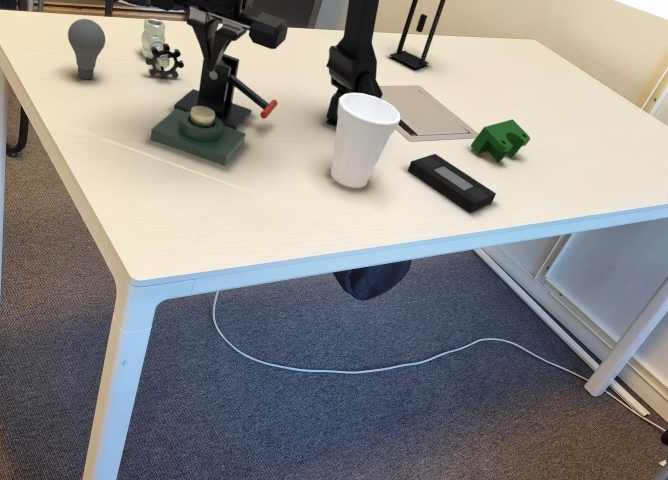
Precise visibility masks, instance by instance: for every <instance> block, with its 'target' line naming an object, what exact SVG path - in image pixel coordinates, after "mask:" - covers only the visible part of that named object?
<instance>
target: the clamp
mask: <svg viewBox="0 0 668 480" xmlns="http://www.w3.org/2000/svg"><path fill="white" fill-rule="evenodd" d="M530 141H531V137H530V135H529V134H528V133H527V132H526V131H525V130H524V129H523V128H522V127H521V126H520V125H519V124H518V123H517V122H516V121H515V120H514V119H513V118H512V119H508V120H505V121H501V122H497V123H494V124H490V125H486V126H483V128H482V129H481V130H480V132H479V133H478V134H477V136H476V137H475V138H474V140H473V141H472V142H471V145H470V147H471V149H472V150H473V151H474V152H475V153H476V154H477V155H481V154H484V153H488V154H489V155H490V156H491V157H492V158H493V159H494V160H495V161H496V162H497V163H498V164H500V163H501V162H502V160H503V159H504V158H505V157H506V156H508V157H509V158H510V159H513V158H514V157H515V156H516V154H517V153H518V152H519V151H520V150H521V148H522V147H525V146H527V144H528V143H529V142H530Z"/></svg>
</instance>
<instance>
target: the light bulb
mask: <svg viewBox="0 0 668 480" xmlns="http://www.w3.org/2000/svg"><path fill="white" fill-rule="evenodd" d="M67 39H68V42H69V44H70V47H71V49H72V50H73V52H74V55H75V59H76V60H75V61H76V65H77V75H78V77H79V78H81V79H82V80H91V79H93V78H94V71H95V68H96V64H97V59H98V57H99V54H100V53H101V52H102V51H103V49H104V47H105V45H106V35H105V32H104V29H103V27H101V26H100V25H99V24H98V23H97V22H95V21H93V19H92V20H91V19H88V18H80V19H76V20H75V21H74V22H72V24H70V26H69V28H68V30H67Z"/></svg>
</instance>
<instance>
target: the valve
mask: <svg viewBox="0 0 668 480" xmlns="http://www.w3.org/2000/svg"><path fill="white" fill-rule="evenodd" d="M165 34H166V24H165V23H164V21H162V20H159V19H156V18H146V19H144V20H143V31H142V34H141V39H140V41H141V45H142V46H141V54H142V56H143V57H144V62H145V64H146V65H147V66H152V68H149V69H148V73H149V75H150V76H151V77H155V76H157V74H158V75H159V79H160V80H167V79H168V76H171V77H172V78H174V79H176V78H177V79H178V77H179V73H178V71H177V69H178V68H179V69H183V68H184V66H185V63H184V61H183V60H181V59H179V60H178V58H180V57H181V55H182V53H181V51H180V50H179V49H178V48H175V49H174V50H173V51H171V47H170V45H169V44H168V43H167V42H166V37H165ZM170 59H173V65H172V67H171V68H170V69H168V70H165V69H166V68H168V67H169V66H170V65H171V63H170V62H171V61H170ZM156 61H157V63H158V65H159V66H160V67H159V68H160V69H159V68H158V67H157V66H156Z"/></svg>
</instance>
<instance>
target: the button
mask: <svg viewBox="0 0 668 480" xmlns="http://www.w3.org/2000/svg"><path fill="white" fill-rule="evenodd" d="M214 118H215V112H214V111H213V110H212V109H210V108H208V107H204V106H194V107H192V109H191V115H190V123H191V124H193V125H195V126H198V127H201V128H211V127H213V124H214Z"/></svg>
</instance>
